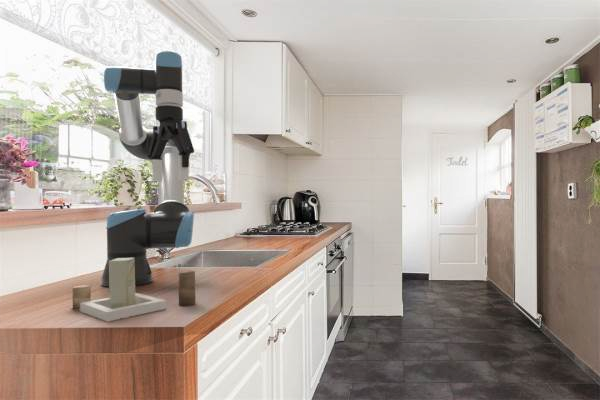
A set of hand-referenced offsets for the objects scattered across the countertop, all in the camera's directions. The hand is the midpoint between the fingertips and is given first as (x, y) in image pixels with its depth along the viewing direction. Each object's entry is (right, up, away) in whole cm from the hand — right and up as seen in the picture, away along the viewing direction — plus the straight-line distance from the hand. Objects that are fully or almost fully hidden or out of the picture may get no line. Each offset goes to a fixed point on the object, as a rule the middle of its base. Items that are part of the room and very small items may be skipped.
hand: (170, 180), depth 125 cm
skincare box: (-5, -32, -22) cm, 39 cm away
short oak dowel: (-16, -32, -19) cm, 40 cm away
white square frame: (-4, -32, -22) cm, 39 cm away
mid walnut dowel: (+9, -32, -17) cm, 37 cm away
